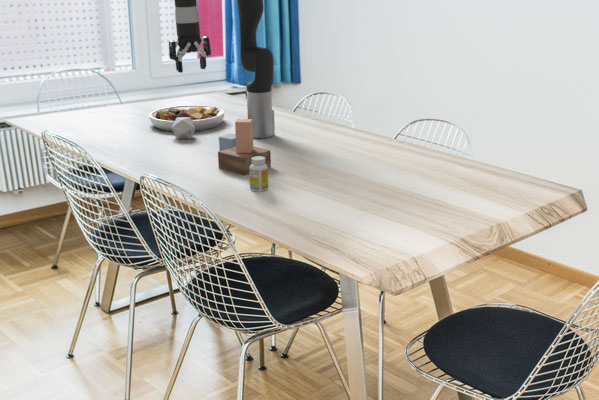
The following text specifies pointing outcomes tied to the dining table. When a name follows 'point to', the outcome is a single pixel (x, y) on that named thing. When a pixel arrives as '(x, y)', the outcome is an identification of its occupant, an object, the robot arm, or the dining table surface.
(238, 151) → the pillar block
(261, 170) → the supplement bottle
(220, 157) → the walnut block
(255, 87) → the robot arm
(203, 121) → the bowl
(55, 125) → the dining table surface
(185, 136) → the die
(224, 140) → the slate cube
